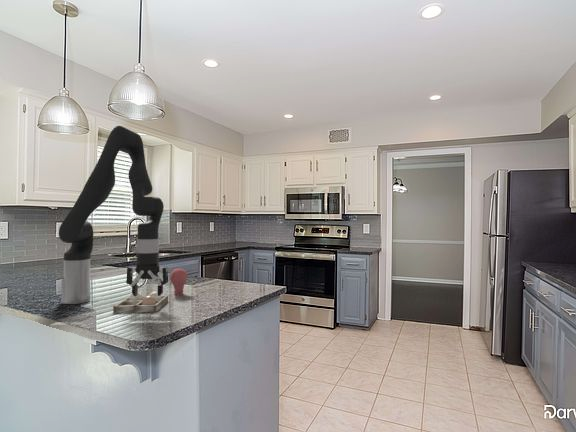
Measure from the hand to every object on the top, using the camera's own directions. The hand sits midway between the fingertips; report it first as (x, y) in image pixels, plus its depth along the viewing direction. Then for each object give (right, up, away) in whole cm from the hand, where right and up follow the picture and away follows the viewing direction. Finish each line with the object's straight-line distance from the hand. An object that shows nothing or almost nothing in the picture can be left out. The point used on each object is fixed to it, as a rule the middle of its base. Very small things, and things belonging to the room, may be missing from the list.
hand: (147, 295), depth 124 cm
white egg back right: (0, -5, +7) cm, 9 cm away
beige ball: (0, -5, 0) cm, 5 cm away
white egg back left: (-7, -5, +7) cm, 11 cm away
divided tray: (-3, -6, +3) cm, 8 cm away
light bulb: (+4, -6, +23) cm, 24 cm away
